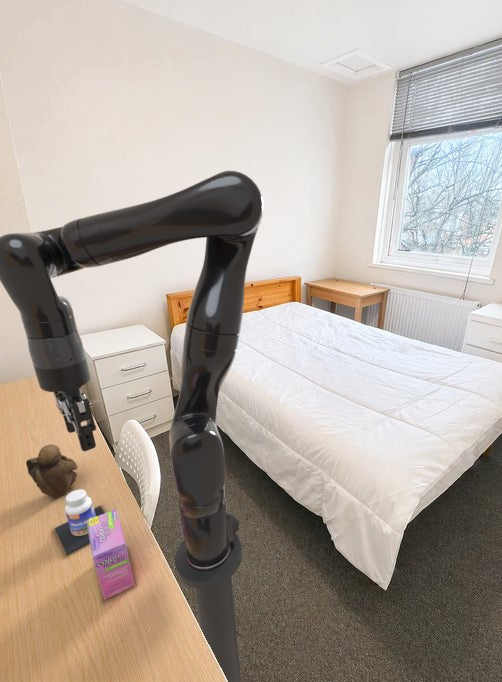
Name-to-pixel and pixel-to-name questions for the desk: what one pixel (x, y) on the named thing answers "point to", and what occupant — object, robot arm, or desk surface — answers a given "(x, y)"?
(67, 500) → the pill bottle
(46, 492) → the sculpture
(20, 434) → the desk surface
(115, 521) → the box
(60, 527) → the pad
